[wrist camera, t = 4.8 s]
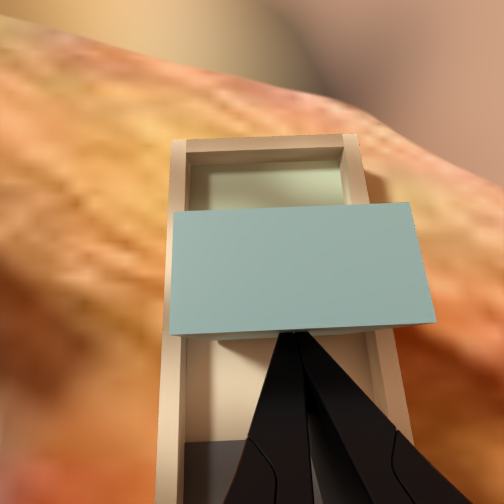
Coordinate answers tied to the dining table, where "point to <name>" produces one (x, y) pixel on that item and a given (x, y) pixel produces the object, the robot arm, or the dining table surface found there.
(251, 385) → the box
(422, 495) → the robot arm
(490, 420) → the dining table surface
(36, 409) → the dining table surface
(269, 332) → the teal block
